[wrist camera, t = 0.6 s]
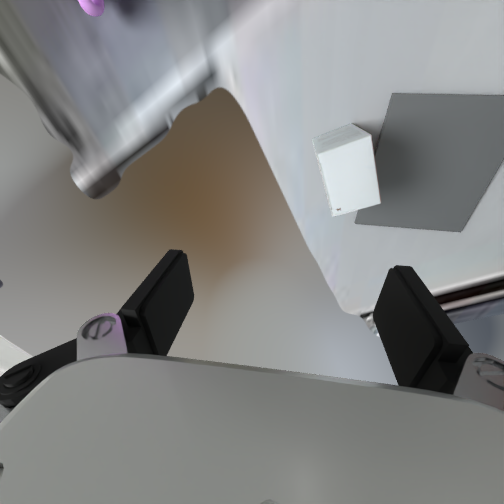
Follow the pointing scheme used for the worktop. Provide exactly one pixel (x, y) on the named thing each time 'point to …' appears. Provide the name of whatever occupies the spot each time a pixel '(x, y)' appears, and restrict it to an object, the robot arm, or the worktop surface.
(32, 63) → the worktop surface
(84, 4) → the teapot
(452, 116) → the mat
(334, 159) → the small box
